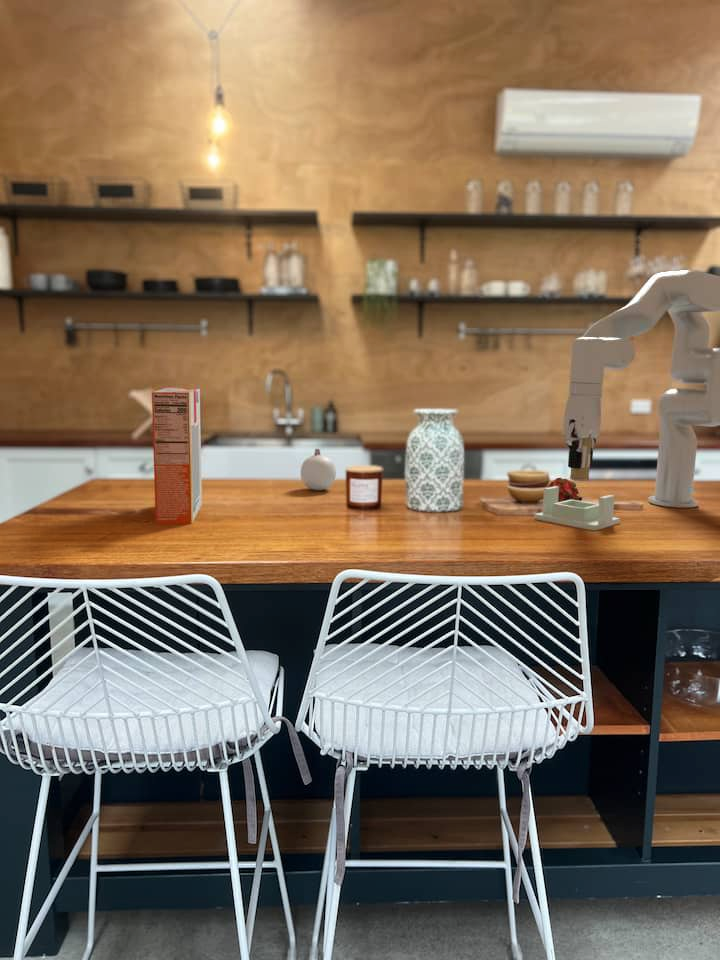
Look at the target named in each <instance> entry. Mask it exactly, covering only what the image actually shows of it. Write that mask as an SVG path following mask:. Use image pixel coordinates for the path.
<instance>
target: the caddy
mask: <svg viewBox="0 0 720 960" xmlns="http://www.w3.org/2000/svg"><path fill="white" fill-rule="evenodd" d="M558 496H559V487H556V486H554V487H549V488H547V487H545V488H543V500H542V502H543V503H542V512H537V513H534V520H538V521H543V522H548V523H549V522H550V523H554V524H558V525H563V526H564V525H565V526H570V527H574V528H579V529H585V530H588V531H589V530H590V531H593V532H594V531H597V530H601V529H602V530H603V529H605V528H607V527H612V526H614V525H618V524H620V517H614V510H615V509H614V507H615V506H614V505H615V495H614V494H613V495H612V494H608V495H603V496H600V497H599V499H598V503H596V502H595V503H594V502H590V501H583V500H582V501H578V500H572V499H571V500H566V501H562V502H558Z"/></svg>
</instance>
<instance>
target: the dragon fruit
mask: <svg viewBox="0 0 720 960" xmlns="http://www.w3.org/2000/svg"><path fill="white" fill-rule="evenodd" d="M554 486H556V487H559V496H558V502H562V501H566V500H571V499H572V500H578V501H583V497H582V496H580V493H579V490H578V488H577V485H576V483H575V482H573V481H571V480H569V479H567V478H562V477H556V478H555V479H554V480H553V481H551V482H550V483H548V485H547V486H546V488H547V487H548V488H549V487H554Z"/></svg>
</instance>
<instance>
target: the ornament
mask: <svg viewBox="0 0 720 960" xmlns="http://www.w3.org/2000/svg"><path fill="white" fill-rule="evenodd" d="M336 474H337V470H336V465H335V464H334V461H332V459H330V458H329V457H328V456H325V455H322V454H321V451H320V448H315V449H314V455H311V456H309V457H306V459H305V460H304V461H303V463H302V465H301V467H300V479H301V482H302V483H303V484H304V486H305V487H307V488H308V489H310V490H313V491H324V490H327V489H328V488H330V487H331V486H332V485H333V484H334V483H335V479H336V476H337V475H336Z"/></svg>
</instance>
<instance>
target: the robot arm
mask: <svg viewBox="0 0 720 960" xmlns="http://www.w3.org/2000/svg"><path fill="white" fill-rule="evenodd" d="M718 311H720V276H719V275H716V274H712V273H709V272H708V273H707V272H704V271H699V270H694V269H689V270H688V269H687V270H686V269H685V270H675V271H674V270H673V271H665V272H659V273H656V274H654V275H652V276H651V277H649V278H648V279H647V281H646V282H645V284H644V285H643V286H642V287H641V288H640V290H639V291H637V293H636V294H635V295H634V296H633V297H632V298H631V300H629V302H628V303H626V305H625V306H623V307H622V308H620V309H618V310H615V311H614V312H612V313H610V314H608V315H607V316H605V317H603V318H601V319H600V320H598V321H597V322H595V323H593V325H591V326H590V327H589V328H588V329H587V330H586V331H585V332H584V334H583V335H582V336H581V337H577V338H575V339H573V341H572V343H571V355H570V357H571V358H570V368H569V369H570V373H569V386H568V387H569V388H568V396H567V399H566V404H565V410H564V415H563V421H562V422H563V424H562V436H563V437H564V438H563V439H564V441H565V443H566V446H567V451H568V458H567V459H568V460H567V466H568V467H567V468H570V469H571V468H577V469H580V468H581V463H582V452H580V451H581V446H582V441H583V439H586V438H588V437H589V436H591V453H590V467H589V468H591V467H592V466H593V458H594V456H593V455H594V450H595V445H596V442H597V440H598V439H599V437H600V431H601V420H602V419H601V418H602V417H601V416H602V415H601V414H602V401H601V398H602V394H603V384H604V374H605V373H604V371H605V370H613V371H614V370H615V371H616V370H622V369H623V370H624V369H626V368H627V367H629V366H630V365H631V364H632V362H633V361H634V359H635V354H636V350H635V346H634V345H633V344H632V342H630V341H629V340H628V339H629V338H632V337H633V338H634V337H637V336H639V335H642V334H645V333H647V332H649V331H651V330H652V329H653V328H654V327H655V326H656V325H657V323H659V321H660V320H661V318H662V317H663V316H664V315H665V314H666V312H668V315H669V316H670V318H671V321H672V323H673V327H674V340H673V345H672V353H671V360H670V366H669V367H670V368H669V374H670V378H671V379H672V380H673V381H674V382H676V383H680V384H688V385H706V389H698V388H697V389H696V388H672V389H669V390H668V389H667V390H666V391H665V392H664V393H662V394H661V396H660V397H659V400H658V402H657V403H658V404H657V405H658V406H657V409H658V411H657V412H658V419H659V438H658V440H659V441H658V443H659V444H658V453H657V461H656V462H657V464H656V475H655V476H656V477H655V487H654V495H651V496H648V499H647V501H648V503H650V504H653V505H656V506H660V507H661V506H662V507H668V508H678V509H679V508H681V509H684V508H685V509H687V508H695V507H697V506H698V504H699V501H698V500H697V499H694V498H693V494H695V492H696V489H695V487H694V480H695V478H694V477H695V468H696V459H697V451H698V450H697V449H698V439H697V435H696V433H695V431H694V429H693V427H692V426H698V427H718V426H720V347H709V341H710V333H711V331H710V326H709V323H708V321H707V320H706V318H705V316H704V315H703V314H702V312H703V313H711V312H718ZM591 429H592V433H589V432H590V430H591ZM589 434H591V435H589ZM574 435H575V436H577V437H578V438H574ZM576 441H578V443H576Z"/></svg>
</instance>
